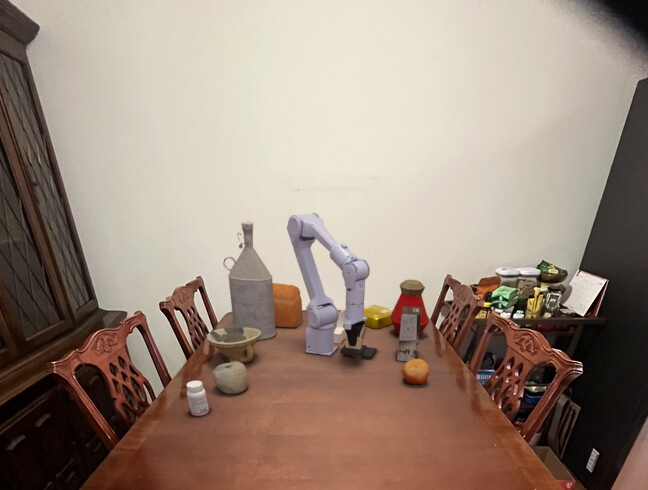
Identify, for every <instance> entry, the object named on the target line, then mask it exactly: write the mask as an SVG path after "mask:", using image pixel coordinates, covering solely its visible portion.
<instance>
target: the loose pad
mask: <svg viewBox="0 0 648 490" xmlns="http://www.w3.org/2000/svg"><path fill="white" fill-rule="evenodd" d="M367 347H368V345H367V344H363V336H362V337H357V343H356V346H349V342H348V338H347V337H346V339H345V344H344V345H343V346H342V347H341V348H340V350H339V354H342V355H343V354H347V355H353V356H355V357H362V356H361V355H362V354H363V353H364V351H365V350H366V349H367Z"/></svg>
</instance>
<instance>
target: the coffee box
mask: <svg viewBox="0 0 648 490" xmlns="http://www.w3.org/2000/svg"><path fill="white" fill-rule="evenodd" d="M421 315H422V308H421V307H404V306H403V308H402V315H401V325H400V335H399V337H398V346H397V347H398V348H397V356H396V357H397V358H396V360H397V362H398V361H400V362H408V361H409V360H412V359H417V353H418V346H419V338H420V336H419V332H420V323H421Z"/></svg>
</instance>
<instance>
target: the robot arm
mask: <svg viewBox="0 0 648 490" xmlns="http://www.w3.org/2000/svg"><path fill="white" fill-rule="evenodd" d="M286 231H287V233H288V236H289V240H290V243H291V245H292V249H293V252H294V255H295V259H296V262H297V264H298V268H299V270H300V274H301V276H302V279H303V282H304V286H305V288H306V291H307V294H308V297H309V300H310V301H309V303H308V304H307V305H306V307H305V310H306V314H307V322H308V325H307V327H306V328H305V329H306V330H305V353H306V354H307V353H309V354H315V355H322V356H327V357H328V356H329V357H330V356H332V354H333V353H334V352H335V351H336V350H337V349H338V346H335V343H334V331H335V326H336V323H337V320H338V318H339V313H340V311H339V309H338V308H337V306H336V305H335V303H334V300H333V299H332V298H331V297H329V296H327V295H326V292H325V289H324V286H323V282H322V280H321V277H320V274H319V270H318V268H317V265H316V262H315V258H314V255H313V251H312V245H313V244H315V242H316V241H318V242H319V244H321V246H323V248H325V249H326V250H327V251H328V252H329V258H330V260H331V261H332V262H333V263H334V264H335V265H336V266H337V267H338V268H339V269H340V271H341V276H342V279H343V282H344V287H345V307H346V313H345V323H344V324H343V328H344V330H345V331H346V334H347V338H348V342H349V346H356V343H357V337H360V333H361V330H362V327H363V325H364V324H365V321H366V320H367V317H365V316H364V307H365V294H366V293H365V291H366V279H368V278H369V276H370V273H371V269H370V265H369V263H368V262H367V259H364V258H359V257H358V256H357V255H355V254H354V252H353V251H351V250H350V249H349V246H348V245H347V244H346V243H343V242H338V241H337V239H335V237H334V236H333V235H332V234H331V232H330V231H329V230H328V229H327V227H326V226H325V225H324V219H323V218H321V216H320V215H319V214H318V213H316V212H312V213H303V214H292V215H289V218H288V221H287V226H286Z"/></svg>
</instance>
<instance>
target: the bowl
mask: <svg viewBox="0 0 648 490" xmlns="http://www.w3.org/2000/svg"><path fill="white" fill-rule="evenodd" d="M260 336H261V331H260V330H258V329H254V328H246V327H234V326H233V327H222V328H218V329H217V328H216V329H214V330H212V331H210V332H208V333H207V334H206V339H207V341H208V343H209V344H210V345H211V346H213V347H215V348H216V349H217V350H218V351H219V352H220V353H221V354H222V356H224V360H225V362H226V363H231V362H240V363H242V364H244V363H249V362H252V360H253V359H254V346H255V344H256V342H257V341H259V340H258V338H260Z"/></svg>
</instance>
